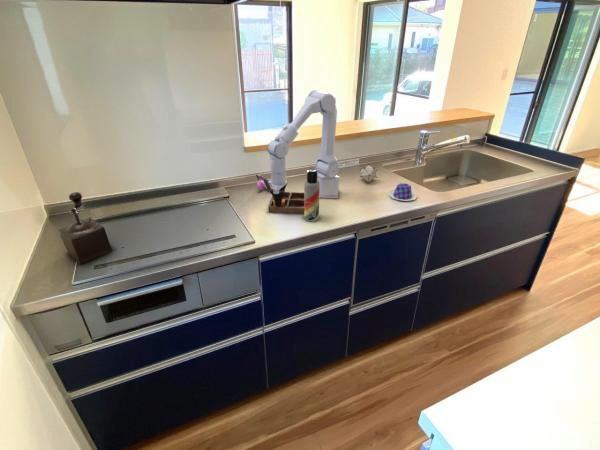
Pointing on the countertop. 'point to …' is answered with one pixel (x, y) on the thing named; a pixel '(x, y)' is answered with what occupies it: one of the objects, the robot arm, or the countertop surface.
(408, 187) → the pudding
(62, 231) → the brown coffee grinder
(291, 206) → the grid
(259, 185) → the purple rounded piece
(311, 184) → the lotion bottle
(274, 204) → the token
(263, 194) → the countertop surface
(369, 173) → the grey spiky ball
